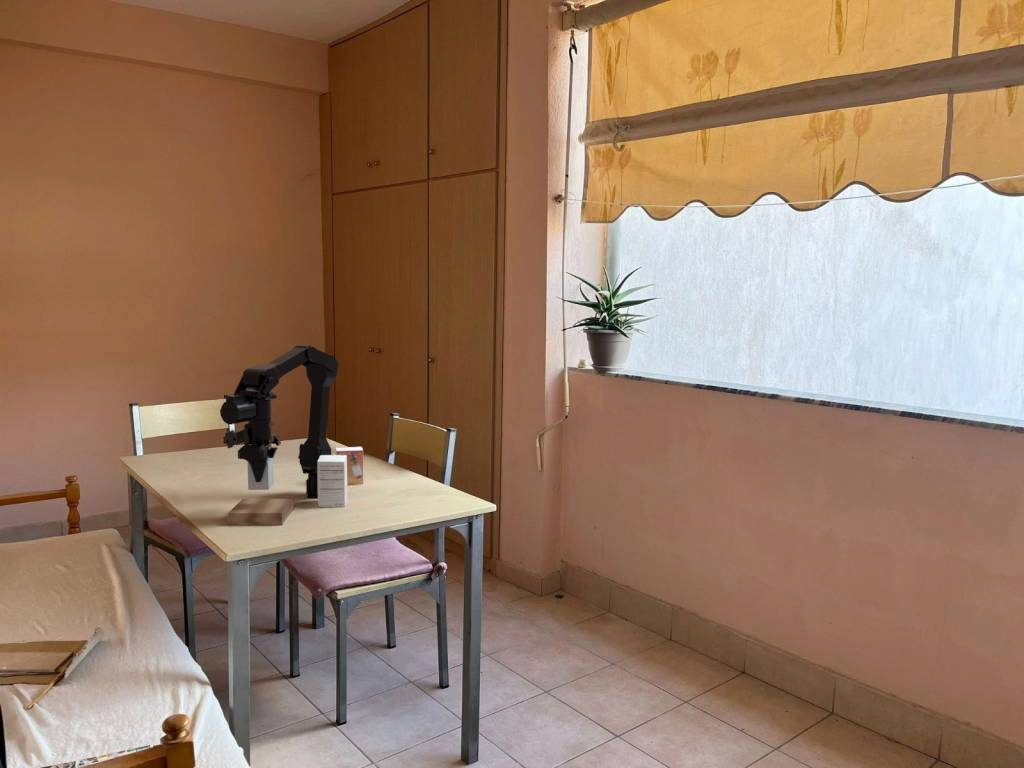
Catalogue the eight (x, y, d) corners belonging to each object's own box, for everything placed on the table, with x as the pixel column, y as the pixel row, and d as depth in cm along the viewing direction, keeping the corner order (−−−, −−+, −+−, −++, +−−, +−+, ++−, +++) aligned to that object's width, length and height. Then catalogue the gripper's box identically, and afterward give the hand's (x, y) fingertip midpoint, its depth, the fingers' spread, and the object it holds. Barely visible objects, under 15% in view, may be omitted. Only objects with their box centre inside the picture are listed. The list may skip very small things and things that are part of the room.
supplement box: (320, 499, 216) (320, 454, 214) (347, 499, 217) (347, 454, 215) (316, 507, 209) (316, 461, 207) (345, 507, 210) (345, 461, 208)
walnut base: (293, 509, 206) (293, 498, 206) (282, 524, 194) (281, 513, 193) (242, 510, 206) (242, 498, 205) (228, 525, 193) (227, 513, 192)
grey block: (273, 484, 201) (272, 457, 200) (268, 489, 196) (267, 462, 195) (253, 484, 201) (252, 457, 200) (248, 489, 196) (247, 462, 195)
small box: (336, 486, 232) (335, 450, 230) (335, 481, 237) (334, 447, 236) (363, 484, 234) (363, 449, 232) (362, 480, 239) (361, 446, 238)
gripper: (237, 412, 205) (238, 470, 207) (214, 424, 187) (216, 489, 189) (280, 412, 206) (281, 470, 208) (262, 425, 187) (264, 489, 189)
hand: (261, 479), depth 198 cm, fingers closed on grey block, 5 cm apart
